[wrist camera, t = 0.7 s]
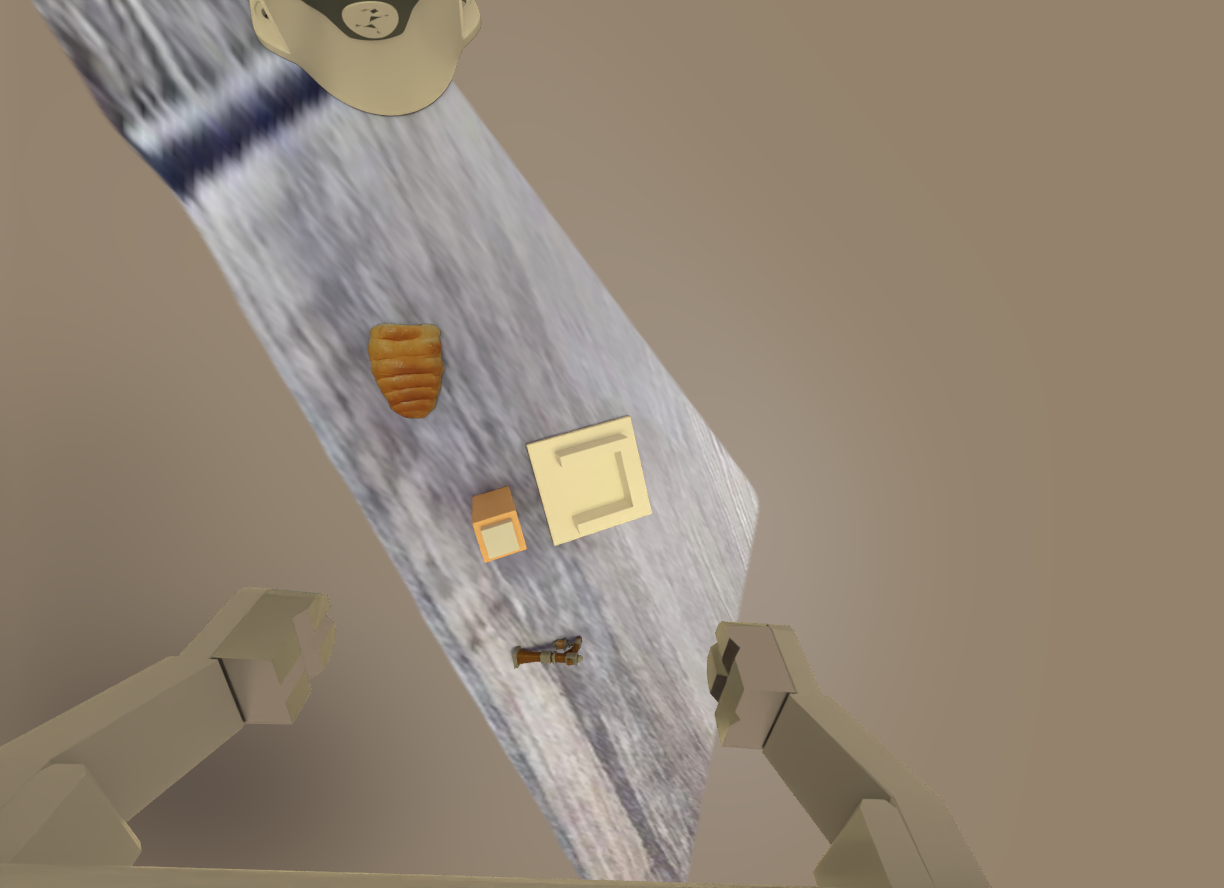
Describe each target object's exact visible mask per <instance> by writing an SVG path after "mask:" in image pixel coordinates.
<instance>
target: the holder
mask: <svg viewBox="0 0 1224 888" xmlns="http://www.w3.org/2000/svg"><path fill="white" fill-rule="evenodd" d="M526 446H527V450H528V453H529V457H530V461H531V464H532V468H533V471H534V475H535V479H536V482H537V486H538V489H539V493H540V497H541V500H542V504H543V507H544V511H545V515H546V518H547V522H548V525H549V529H550V532H551V536H552V540H553V543H554V545H555V546H556V545H559V544H562V543H565V542H568V541H571V540H574V539H577V538H580V537H583V536H586V535H589V534H592V533H595V532H598V531H601V530H604V529H607V528H610V527H613V526H616V525H619V524H622V523H625V522H628V521H631V520H634V519H637V518H640V517H643V516H646V515H649V514H652V512H651V508H650V503H649V499H648V494H647V490H646V485H645V481H644V476H643V472H642V467H641V463H640V458H639V454H638V449H637V445H636V440H635V436H634V431H633V427H632V422H631V418H630V416H625V417H621V418H617V419H614V420H610V421H607V422H603V423H600V424H596V425H592V426H589V427H585V428H582V429H578V430H575V431H571V432H567V433H564V434H560V435H557V436H553V437H549V438H546V439H542V440H539V441H535V442H532V443H528V444H526Z"/></svg>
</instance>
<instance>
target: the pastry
mask: <svg viewBox="0 0 1224 888" xmlns="http://www.w3.org/2000/svg"><path fill="white" fill-rule="evenodd" d="M370 334H371V337H370V341H369V346H368V353H369V357H370V361H371V365H372V373H373V375H374V377H375V379H376V382H377V384H378V386H379V387H380V389H381V392H382V393H383V394H384V396H385V397H386V399H387V400H388V403H389V405H390V408H391V409H392V410H393V411H395V412H396V413H398V414H400V415H401V416H403V417H405V418H424V417H425V416H427V415H428V414H429V413H430V412H431V411H432V410H433V409H434V408H435V405H436V401H437V396H438V393H439V391H440V388H441V378H442V374H443V372H444V364H443V362H442V353H441V342H440V334H441V332H440V329H439V328H438V327H437V326H435V325H432V324H421V325H397V324H393V323H387V324H385V323H383V324H379V325H377V326H375V327H373V328H372V329H371V331H370Z"/></svg>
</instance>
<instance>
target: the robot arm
mask: <svg viewBox="0 0 1224 888" xmlns="http://www.w3.org/2000/svg"><path fill="white" fill-rule="evenodd" d="M462 1H464V2H465V3H466V4H465V5H463V6H462ZM249 2H250V9H251V16H252V22H253V27H254V30H255V32H256V34H257V37H258V39H259V40H260V42H261V43H262V44H263V45H264V46H265V47H266V48H267V49H269V50H270V51H272V52H274V53H276V54H277V55H279V56H281V57H283V58H285V59H287V60H290V61H292V62H294V63H296V64H297V65H299V66H300V67H301V68H303V69H304V70H305V71H306V72H307V73H308V74H309V75H310V76H311V77H312V78H313V79H314V80H315V81H316V82H317V83H318V84H319V85H320V86H322V87H323V88H324V89H325V90H326V91H328V92H329V93H330V94H331V95H333V96H334V97H336V98H337V99H339V100H341V101H342V102H344V103H346V104H348V105H350V106H352V107H354V108H357V109H359V110H362V111H365V112H369V113H373V114H379V115H403V114H408V113H412V112H415V111H418V110H420V109H423V108H424V107H426V106H428V105H430V104H431V103H432V102H434V101H435V100H436V99H437V98H438V97H439V96H440V95H441V94H442V93H443V92H444V91H445V89H446V88H447V87H448V85H449V83H450V82H451V80H452V78H453V76H454V73H455V70H456V67H457V64H458V61H459V57H460V55H461V52H462V50H463V49H464V48H465V47H466V46H467V45H468V44H469V43H470V42H471V41H472V40H473V38H474V37H475V36H476V35H477V33H478V32H479V30H480V28H481V16H480V11H479V8H478V6H477V3H476V1H475V0H249ZM266 14H267V16H268V18H269V19H266V18H265V15H266ZM330 607H331V605H330V602H329V598H328V595H326V594H321V593H311V592H301V591H290V590H280V589H267V588H256V587H245V588H243V589H240V590H239V591H237V592H236V593H235V594H234V595H233V596H232V597H231V598H230V599H229V600H228V601H227V603H226V604H225V605H224V606H223V607H222V608H221V609H220V610H219V611H218V613H217V614H216V615H215V616H214V617H213V618H212V619H211V620H210V621H209V623H208V624H207V625H206V626H205V627H204V628H203V629H202V630H201V631H200V633H199V634H198V635H197V636H196V637H195V638H194V639H193V640H192V641H191V642H190V644H189V645H188V646H187V647H186V648H185V649H184V650H183V651H182V652H181V654H180V655H179V656H178V657H173V656H169V657H167V658H165V659H163V660H161V661H159V662H158V663H156V664H154V665H152V666H151V667H148V668H146V669H145V670H143V671H141V672H139V673H137V674H135V675H133V676H132V677H130V678H128V679H126V680H124V681H122V682H120V683H119V684H117V685H115V686H113V687H111V688H109V689H107V690H105V691H104V692H102V693H100V694H98V695H96V696H94V697H92V698H91V699H89V700H87V701H85V702H83V703H81V704H79V705H77V706H76V707H74V708H72V709H70V710H68V711H66V712H64V713H63V714H61V715H59V716H57V717H55V718H53V719H51V720H50V721H48V722H46V723H44V724H42V725H40V726H39V727H37V728H35V729H33V730H31V731H29V732H27V733H25V734H24V735H22V736H20V737H18V738H16V739H14V740H12V741H10V742H9V743H7V744H5V745H3V746H1V747H0V888H992V887H991V886H990V884H989V882H988V880H987V878H986V876H985V875H984V873H983V871H982V869H981V867H980V866H979V864H978V862H977V860H976V858H975V857H974V855H973V853H972V851H971V849H970V847H969V846H968V844H967V842H966V841H965V838H964V837H963V835H962V833H961V831H960V829H959V828H958V826H957V824H956V822H955V821H954V819H953V817H952V815H951V813H950V811H949V810H948V808H947V806H946V804H945V802H944V801H943V800H942V799H941V798H940V797H939V796H938V795H937V794H936V793H935V792H934V791H932V790H931V789H930V788H929V787H928V786H927V785H926V784H925V783H924V782H923V781H922V780H921V779H919V778H918V777H917V776H916V775H915V774H914V773H913V772H912V771H911V770H910V769H908V768H907V767H906V766H905V765H904V764H903V763H902V762H901V761H900V760H899V759H898V758H896V757H895V756H894V755H893V754H892V753H891V752H890V751H889V750H888V749H887V748H886V747H885V746H883V745H882V744H881V743H880V742H879V741H878V740H877V739H876V738H875V737H874V736H872V735H871V734H870V733H869V732H868V731H867V730H866V729H865V728H864V727H863V726H862V725H861V724H860V723H858V722H857V721H856V720H855V719H854V718H853V717H852V716H851V715H850V714H849V713H847V712H846V711H845V710H844V709H843V708H842V707H841V706H840V705H839V704H838V703H837V702H835V701H834V700H833V699H832V698H831V697H830V696H823V695H822V693H821V690H820V688H819V686H818V684H817V681H816V679H815V677H814V674H813V672H812V670H811V668H810V666H809V663H808V661H807V659H806V656H805V654H804V652H803V650H802V647H801V645H800V643H799V640H798V638H797V636H796V634H795V631H794V630H793V629H792V628H791V627H790V626H786V625H771V624H767V625H765V624H759V623H743V622H726V621H721V622H720V623H719V624H718V626H717V629H716V632H715V634H716V638H717V643H716V644H715V645H713V646H712V647H711V648H710V651H709V655H708V660H707V679H708V685H709V690H710V694H711V695H712V696H713V697H714V698H715V699H716V701H717V702H718V705H717V708H716V711H715V719H716V723H717V728H718V732H719V737H720V741H721V746H723V747H736V748H748V749H761V750H763V751H762V752H763V754H764V755H765V757H766V758H767V759H768V761H769V762H770V763H771V765H772V766H773V767H774V769H775V770H776V771H777V773H778V774H779V775H780V777H781V778H782V779H783V781H784V782H785V783H786V785H787V786H788V787H789V789H790V790H791V791H792V793H793V794H794V796H795V797H796V798H797V800H798V801H799V802H800V804H801V805H802V806H803V808H804V809H805V810H806V812H807V813H808V814H809V816H810V817H811V818H812V820H813V821H814V823H815V824H816V825H817V827H818V828H819V829H820V831H821V832H822V833H823V834H824V836H825V837H826V839H827V840H828V841H829V843H830V844H831V845H830V847H829V848H828V850H827V851H826V853H825V854H824V855H823V857H822V859H821V860H820V861H819V863H818V864H817V866H816V868H815V870H814V871H813V873H814V877H815V880H816V883H817V887H816V886H815V887H814V886H782V885H749V884H746V885H745V884H714V883H681V882H648V881H614V880H581V879H577V880H576V879H547V878H513V877H480V876H479V877H478V876H445V875H412V874H378V873H344V872H310V871H307V872H306V871H275V870H274V871H273V870H241V869H238V870H237V869H206V868H172V867H139V866H138V867H137V866H132V865H133V863H134V862H135V860H136V859H137V857H138V856H139V854H140V853H141V844H140V841H139V840H138V838H137V837H136V836H135V834H134V833H133V831H132V830H131V829H130V827H129V826H128V825H127V823H126V822H127V821H128V820H130V819H131V818H132V817H133V816H134V815H136V814H137V813H138V812H139V811H141V810H142V809H143V808H144V807H145V806H147V805H148V804H149V803H150V802H151V801H153V800H154V799H155V798H157V797H158V796H159V795H160V794H161V793H163V792H164V791H165V790H166V789H167V788H169V787H170V786H171V785H172V784H174V783H175V782H176V781H177V780H179V779H180V778H181V777H182V776H184V775H185V774H186V773H187V772H188V771H190V770H191V769H192V768H193V767H195V766H196V765H197V764H198V763H199V762H201V761H202V760H203V759H204V758H206V757H207V756H208V755H209V754H211V753H212V752H213V751H214V750H215V749H217V748H218V747H219V746H220V745H222V744H223V743H224V742H225V741H227V740H228V739H229V738H230V737H231V736H233V735H234V734H235V733H236V732H238V731H239V730H240V729H241V728H242V727H244V723H256V724H257V723H258V724H293V722H294V721H295V719H296V717H297V715H298V714H299V712H300V710H301V708H302V707H303V705H304V703H305V701H306V700H307V698H308V696H309V695H310V693H311V686H310V681H309V680H310V679H312V678H313V677H315V676H316V675H317V674H319V673H320V672H322V671H323V670H324V668H325V667H326V665H327V663H328V661H329V659H330V657H331V655H332V651H333V648H334V645H335V640H336V628H335V624H334V621H332V620H331V619H330V618H329V617H328V616H327V615H326V613H327V612H328V610H329V609H330Z"/></svg>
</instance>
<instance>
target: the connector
mask: <svg viewBox="0 0 1224 888" xmlns="http://www.w3.org/2000/svg"><path fill="white" fill-rule="evenodd" d="M472 524H473V527H474V531H475V534H476V537H477V540H478V543H479V546H480V549H481V553H482V556H483V559H484V562H485V563H486V562H489V561H492V560H495V559H498V558H501V557H504V556H507V555H510V554H513V553H516V552H519V551H522V550H525V549H527V547H526V544H525V540H524V537H523V533H522V529H521V526H520V522H519V519H518V515H517V512H516V508H515V505H514V502H513V498H512V495H511V491H510V488H509V486H507V487H503V488H500V489H497V490H493V491H490V492H487V493H483V494H480V495H476V496H473V504H472Z"/></svg>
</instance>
